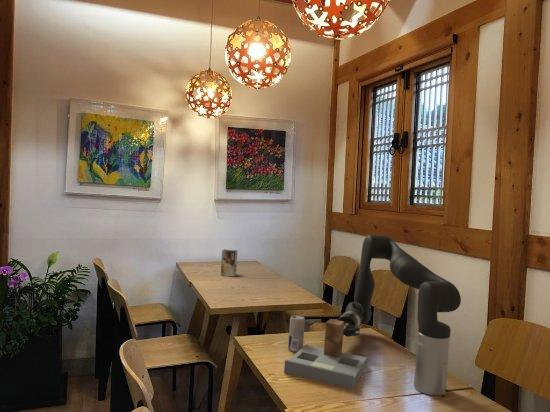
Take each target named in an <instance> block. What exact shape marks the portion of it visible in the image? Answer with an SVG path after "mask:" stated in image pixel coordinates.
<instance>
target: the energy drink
mask: <svg viewBox="0 0 550 412" xmlns="http://www.w3.org/2000/svg"><path fill="white" fill-rule="evenodd" d="M305 321H306V319H305V317H304V316H302V315H298V314H297V315H296V314H295V315H294V314H293V315H291V316H290V318H289V331H288V344H287V345H288V347H287V349H288V350H289V351H290V352H293V353H297V352H298V351H299V350H300V349H301V348H302V347H303V346H304V337H305V326H306V325H305V324H306V323H305Z"/></svg>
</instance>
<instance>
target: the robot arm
mask: <svg viewBox="0 0 550 412" xmlns="http://www.w3.org/2000/svg"><path fill="white" fill-rule="evenodd" d="M373 259H375V260H376V259H378V260H381V259H382V260H387V261H389V270H390V272H391V273H392V275H393V276H394V277H395V278H396V279H397V280H399V282H401V283H403V284H404V285H406V286H408V287H411V288H413V289H417V290H418V293H417V324H418V325H417V326H418V328H417V342H416V355H415V356H416V357H415V367H414V379H413V387H414V389H416V390H417V391H419V392H420V393H422V394H425V395H429V396H442V395H444V397H446V389H447V378H448V366H449V355H450V354H449V353H450V340H451V331H452V329H451V327H450V326H449V325H448V324H446V322H445V323H444V322H442V321H439V320H438V313H452V312H454V311H457V309H459V307H460V305H461V302H462V299H461V298H462V297H461V293H460V291H459V289H458V288H457V286H456V285H455V284H453V283H452V282H450V280H447V279H445V278H443V277H442V276H440V275H438V274H436V273H434V271H432V270H431V269H429V268H428V267H426V266H425V265H423V264H422V263H421V262H419V260H417V259H416V258H414V257H413V256H412V255H411V254H409V253H408V252H407V251H405V250H403V249H402V248H401V247H400V246H399V245H398V244H397V243H396V242H395V241H394V240H393V238H391V237H390V236H387V235H378V234H368V235H366V236H365V237H364V239H363V242H362V246H361V255H360V264H359V274H358V281H357V284H356V287H355V292H354V295H353V297H354V300H355V302H354V301H351V302H349V303H348V304H347V305H346V308H345V312H344V313H342V314H341V315H340V317H338V318H337V320H339V321H344V330H343V337H344V336H345V337H348V338H349V337H355V336H356V337H357V336H360V334H361V328H360V327H359V326H360V325H366V324H368V323H369V322H370V320H371V317H372V304H371V303H372V297H373V295H374V291H375V287H376V285H375V284H376V283H375V279H374V276H373V272H372V270H371V262H372V260H373Z"/></svg>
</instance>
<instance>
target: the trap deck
mask: <svg viewBox="0 0 550 412" xmlns="http://www.w3.org/2000/svg"><path fill="white" fill-rule="evenodd" d="M366 367H367V357H366V356H361V355H357V354H351V353H347V352H343V351H342V353H341V354H340V356H339V357H333V356H329V355H324V347H319V346H314V345H309V344H303V347H302V348H301V349H300V350H299V351H298V352H295V353H294V354H293V355H292V356H291V357H290V358H289V359H285V360H284V367H283V368H284V370H283V373H284V374H287V375H291V376H296V377H300V378H304V379H308V380H313V381H317V382H320V383H325V384H329V385H333V386H337V387H340V388H345V389H349V390H353V389H354V387H355V385H356V384H357V382H358V381H359V379H360V377H361V375H362V374H363V372H364V370H365V368H366Z"/></svg>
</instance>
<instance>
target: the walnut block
mask: <svg viewBox="0 0 550 412" xmlns="http://www.w3.org/2000/svg"><path fill="white" fill-rule="evenodd" d="M343 330H344V321H339V320H338V319H332V318H329V319H328V320H327V321H326V322H325V331H324V344H323V345H324V346H323V348H324V355H329V356H333V357H339V356H340V354H341V353H342V352H343V342H344V338H343V337H344V336H343Z"/></svg>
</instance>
